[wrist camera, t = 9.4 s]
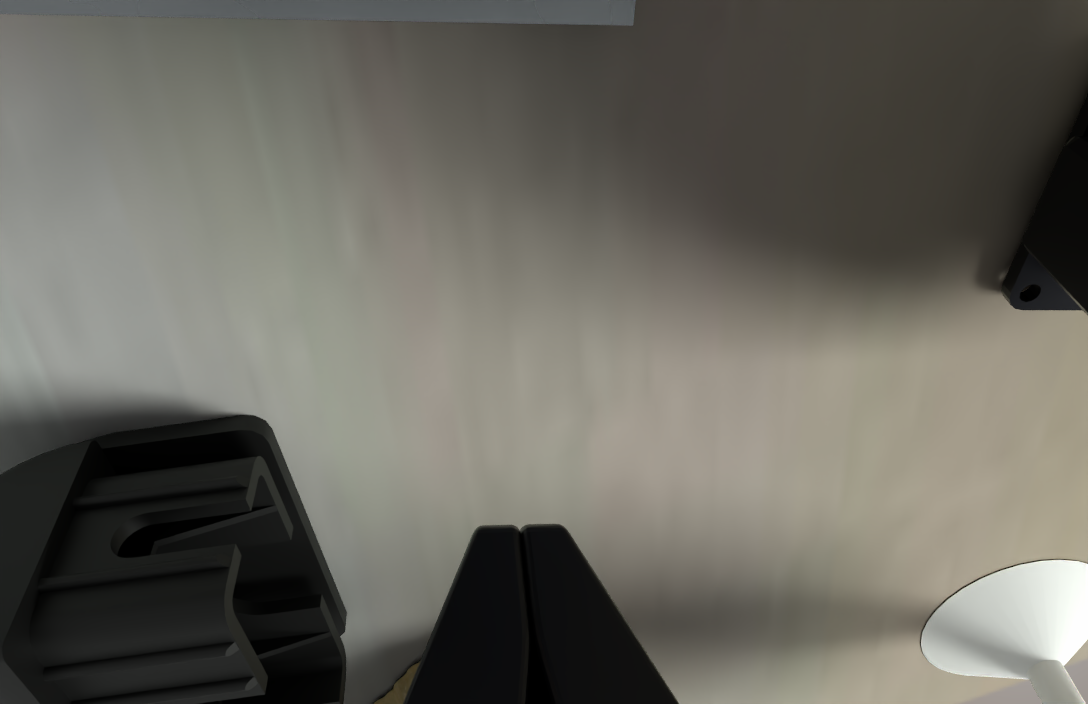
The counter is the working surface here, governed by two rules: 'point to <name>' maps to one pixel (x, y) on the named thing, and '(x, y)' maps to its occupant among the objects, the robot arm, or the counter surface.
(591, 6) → the flange plate
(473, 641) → the robot arm
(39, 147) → the counter surface
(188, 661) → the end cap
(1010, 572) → the champagne flute
